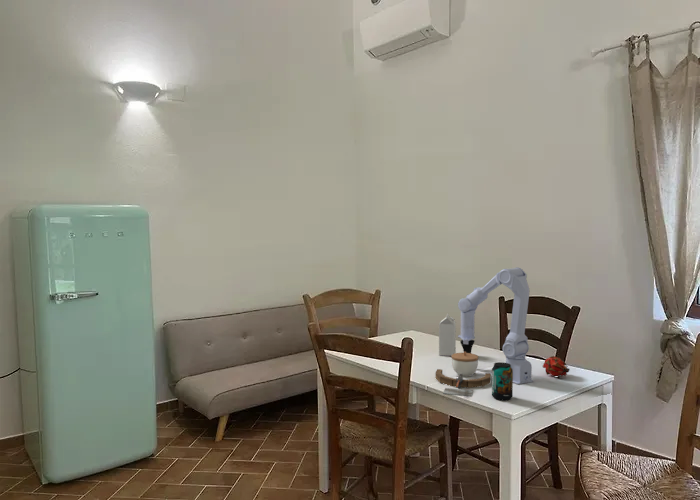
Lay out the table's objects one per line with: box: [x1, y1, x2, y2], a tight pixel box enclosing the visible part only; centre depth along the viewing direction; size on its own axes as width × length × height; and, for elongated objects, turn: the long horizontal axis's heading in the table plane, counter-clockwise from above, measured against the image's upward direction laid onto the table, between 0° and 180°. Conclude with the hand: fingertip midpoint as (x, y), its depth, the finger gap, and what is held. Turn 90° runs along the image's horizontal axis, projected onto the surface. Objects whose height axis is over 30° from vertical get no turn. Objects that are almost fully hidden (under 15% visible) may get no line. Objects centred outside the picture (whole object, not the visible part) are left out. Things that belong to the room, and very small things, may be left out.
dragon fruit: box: [542, 355, 571, 377], centre depth 210 cm, size 8×8×12 cm
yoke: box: [434, 368, 492, 397], centre depth 199 cm, size 23×21×2 cm
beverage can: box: [491, 361, 513, 401], centre depth 184 cm, size 7×7×12 cm
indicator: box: [455, 374, 464, 388], centre depth 194 cm, size 15×2×2 cm, turn 162°
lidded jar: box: [451, 351, 479, 378], centre depth 213 cm, size 11×11×9 cm
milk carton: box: [438, 313, 457, 357], centre depth 246 cm, size 7×7×19 cm
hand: (467, 357), depth 223 cm, fingers closed
